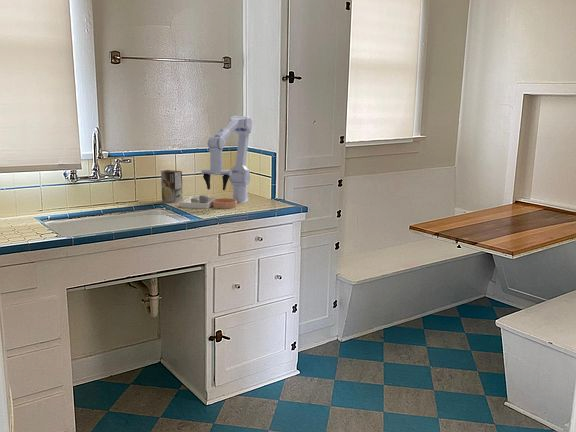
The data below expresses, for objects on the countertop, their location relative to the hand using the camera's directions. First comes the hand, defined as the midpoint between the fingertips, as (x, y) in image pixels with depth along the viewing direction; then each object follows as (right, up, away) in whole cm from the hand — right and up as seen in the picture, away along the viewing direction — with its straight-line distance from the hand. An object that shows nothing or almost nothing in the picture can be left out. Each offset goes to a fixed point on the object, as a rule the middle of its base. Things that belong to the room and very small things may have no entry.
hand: (216, 189), depth 298 cm
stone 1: (-11, -8, +5) cm, 14 cm away
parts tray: (-10, -8, +9) cm, 15 cm away
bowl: (+3, -9, +6) cm, 11 cm away
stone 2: (-8, -6, +13) cm, 17 cm away
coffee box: (-25, -6, +18) cm, 31 cm away
